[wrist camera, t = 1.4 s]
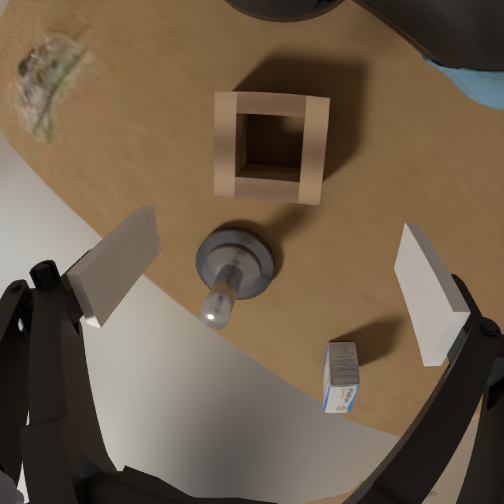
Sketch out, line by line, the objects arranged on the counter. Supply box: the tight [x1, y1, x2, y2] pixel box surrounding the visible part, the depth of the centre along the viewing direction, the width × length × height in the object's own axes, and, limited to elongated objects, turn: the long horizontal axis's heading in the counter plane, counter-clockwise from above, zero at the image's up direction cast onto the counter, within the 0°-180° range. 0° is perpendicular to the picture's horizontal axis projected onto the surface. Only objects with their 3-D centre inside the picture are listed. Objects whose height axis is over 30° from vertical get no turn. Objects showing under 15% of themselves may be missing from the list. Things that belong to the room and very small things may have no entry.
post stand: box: [196, 227, 274, 329], centre depth 34 cm, size 10×10×11 cm
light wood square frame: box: [214, 92, 330, 206], centre depth 28 cm, size 10×10×6 cm
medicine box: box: [324, 342, 360, 413], centre depth 41 cm, size 8×4×9 cm, turn 5°
